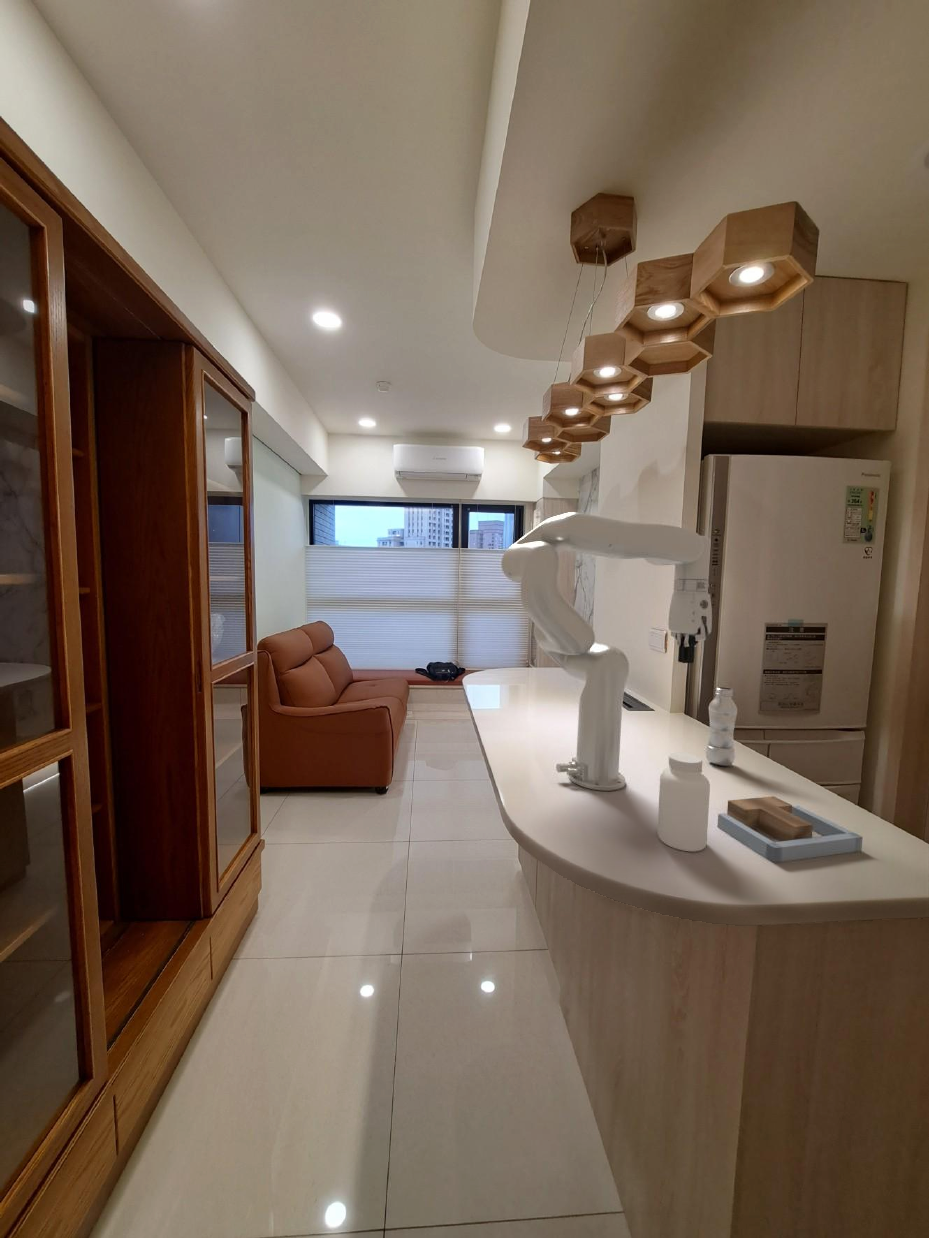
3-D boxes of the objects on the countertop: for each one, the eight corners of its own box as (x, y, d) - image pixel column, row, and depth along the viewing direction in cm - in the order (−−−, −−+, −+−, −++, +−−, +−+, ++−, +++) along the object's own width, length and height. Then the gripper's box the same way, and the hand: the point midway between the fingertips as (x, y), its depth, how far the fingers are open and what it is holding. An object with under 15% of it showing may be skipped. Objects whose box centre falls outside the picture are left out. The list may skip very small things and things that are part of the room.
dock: (773, 862, 77) (774, 848, 77) (717, 826, 89) (718, 813, 88) (861, 850, 82) (862, 836, 82) (797, 817, 93) (798, 805, 93)
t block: (776, 851, 81) (778, 828, 80) (726, 820, 91) (728, 800, 91) (826, 844, 83) (828, 822, 83) (772, 815, 94) (773, 796, 94)
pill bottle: (649, 828, 87) (654, 748, 86) (693, 830, 87) (699, 750, 86) (666, 851, 79) (672, 764, 78) (715, 854, 79) (721, 767, 78)
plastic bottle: (738, 770, 118) (743, 691, 117) (709, 767, 120) (714, 689, 119) (729, 761, 125) (734, 686, 124) (701, 758, 126) (706, 684, 125)
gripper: (727, 588, 108) (722, 667, 109) (682, 588, 122) (677, 658, 123) (700, 587, 106) (694, 667, 107) (657, 587, 120) (653, 658, 121)
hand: (685, 662), depth 115 cm, fingers closed
